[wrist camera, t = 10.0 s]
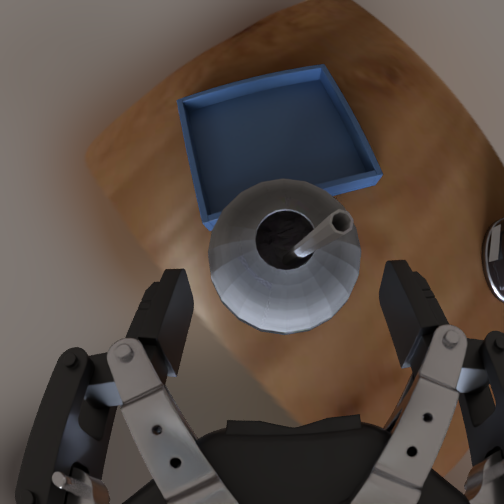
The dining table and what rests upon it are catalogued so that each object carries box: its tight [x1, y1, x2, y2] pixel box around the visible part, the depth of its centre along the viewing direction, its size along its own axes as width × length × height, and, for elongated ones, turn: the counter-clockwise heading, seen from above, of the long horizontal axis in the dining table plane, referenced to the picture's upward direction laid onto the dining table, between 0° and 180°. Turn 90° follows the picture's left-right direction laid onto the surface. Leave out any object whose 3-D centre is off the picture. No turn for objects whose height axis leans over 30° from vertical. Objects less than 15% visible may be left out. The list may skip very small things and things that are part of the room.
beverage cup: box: [208, 178, 361, 335], centre depth 15 cm, size 7×7×20 cm
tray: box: [177, 64, 383, 231], centre depth 26 cm, size 16×14×2 cm
